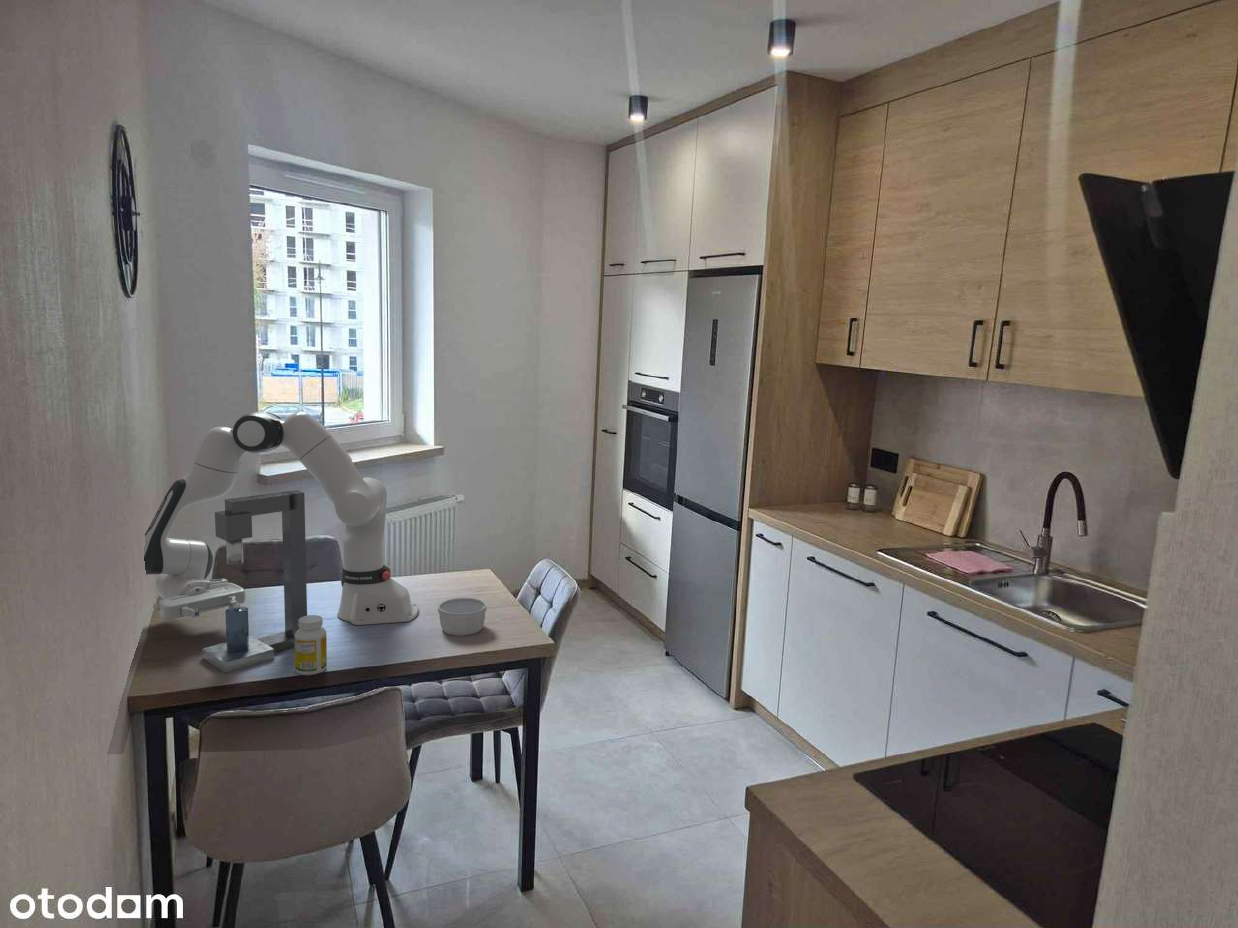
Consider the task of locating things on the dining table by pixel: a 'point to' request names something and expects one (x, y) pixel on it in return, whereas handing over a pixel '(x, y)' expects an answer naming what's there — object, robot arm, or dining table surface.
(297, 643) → the supplement bottle
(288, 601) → the press
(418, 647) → the dining table surface
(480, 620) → the ramekin
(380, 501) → the robot arm
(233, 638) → the blue bottle with knob
